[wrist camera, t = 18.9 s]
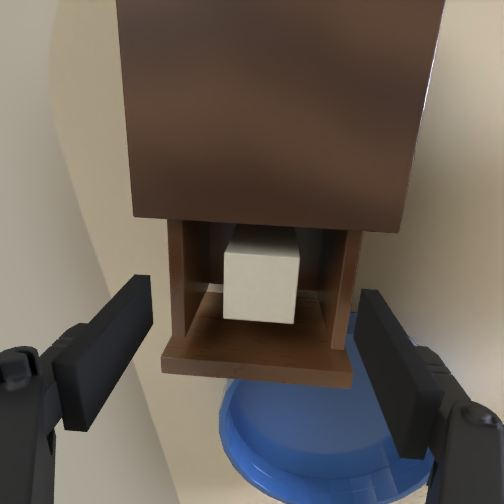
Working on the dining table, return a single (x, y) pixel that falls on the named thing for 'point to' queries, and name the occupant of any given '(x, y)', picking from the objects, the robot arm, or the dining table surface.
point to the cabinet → (275, 108)
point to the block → (261, 274)
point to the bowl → (317, 440)
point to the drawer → (257, 332)
